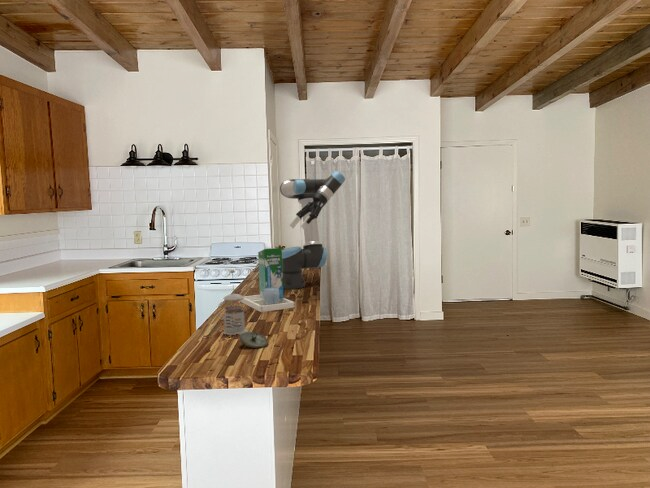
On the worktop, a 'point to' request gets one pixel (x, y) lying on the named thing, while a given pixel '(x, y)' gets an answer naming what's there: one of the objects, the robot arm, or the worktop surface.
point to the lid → (253, 339)
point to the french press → (233, 315)
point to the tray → (260, 305)
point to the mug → (271, 295)
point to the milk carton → (270, 270)
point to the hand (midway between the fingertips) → (296, 227)
